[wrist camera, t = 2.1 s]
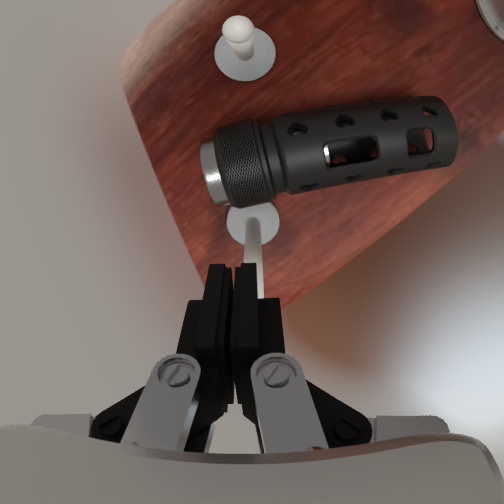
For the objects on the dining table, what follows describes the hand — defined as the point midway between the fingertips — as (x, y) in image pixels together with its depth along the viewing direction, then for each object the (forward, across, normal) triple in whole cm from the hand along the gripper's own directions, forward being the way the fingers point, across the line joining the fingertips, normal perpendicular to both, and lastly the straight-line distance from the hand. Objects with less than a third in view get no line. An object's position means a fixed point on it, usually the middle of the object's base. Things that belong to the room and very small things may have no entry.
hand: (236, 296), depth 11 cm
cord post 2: (+30, 0, +11) cm, 32 cm away
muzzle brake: (+31, -10, 0) cm, 32 cm away
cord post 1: (+30, 0, -11) cm, 32 cm away
